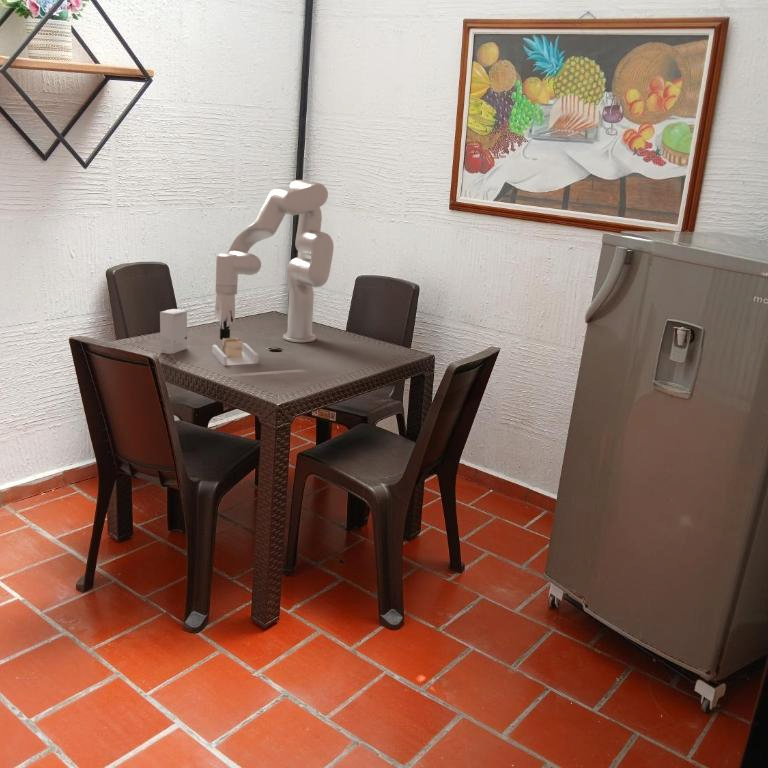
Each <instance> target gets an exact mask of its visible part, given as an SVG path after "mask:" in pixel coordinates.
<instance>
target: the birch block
mask: <svg viewBox="0 0 768 768" xmlns="http://www.w3.org/2000/svg"><path fill="white" fill-rule="evenodd" d="M242 343H243V341H242V340H241V339H240V338H239V337H230V338H223V340H222V349H221V351H222V352H223V353H224V354H225V355H226V356H227V358H233V357H242Z"/></svg>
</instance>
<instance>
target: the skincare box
mask: <svg viewBox="0 0 768 768" xmlns="http://www.w3.org/2000/svg"><path fill="white" fill-rule="evenodd" d="M187 320H188V310H186V309H181V308H180V309H179V308H171V309H166V310H163V311H159V327H160V328H159V333H160V335H159V336H160V339H159V340H160V341H159V342H160V343H159V344H160V353H161V354H162V353H164V354H167V355H170V356H172V354H176V353H179V352H181V351H184V350H187V349H188V321H187Z"/></svg>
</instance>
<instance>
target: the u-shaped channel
mask: <svg viewBox="0 0 768 768" xmlns="http://www.w3.org/2000/svg"><path fill="white" fill-rule="evenodd" d="M212 354H213V355H214V357H215V358H216V359H217V360H218V361H219V362H220V363H221V365H222V366H239V365H240V366H241V365H256V364H259V354H258V353H257V352H256V351H255V350H254V349H252V347H250V345H249V344H248V343H246V342H242V357H233V358H227V356H226V355H225V354H224V353H223V352H222V349H221V348H219V346H218V345H217V344H212Z"/></svg>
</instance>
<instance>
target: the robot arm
mask: <svg viewBox="0 0 768 768" xmlns="http://www.w3.org/2000/svg"><path fill="white" fill-rule="evenodd" d="M328 198H329V191H328V188H327V187H326V186H325V185H324V184H323V183H321V182H320V183H319V182H315V181H309V180H304V179H295V180H293V181H291V182H290V184H289V186H288V189H285V188H280V187H279V188H273V189H272V190H271V191H270V192H269V193H268V195H267V197H266V199H265V200H264V202H263V204H262V206H261V208H260V210H259V211H258V213H257V216H256V217H255V219H254V221H253V222H252V223H251V224H249V225H248V226H247V227H246V228H244V230H242V231H241V232H240V233H239V234H238V235H237V236H236V237H235V238H234V240H233V241H232V243H231V245H230V247H229V249H228V251H227V252H221V253H219V254H217V256H216V264H215V265H216V266H215V270H216V271H215V294H216V295H215V296H216V297H215V305H214V306H215V307H214V317H215V318H216V319H217V321H219V339H220V340H221V341H223V338H231V327H232V323H234V322H235V318H236V317H235V316H236V295H237V294H238V282H239V281H238V280H239V279H238V278H239V275H242V276H243V275H245V276H253V275H257V274H258V273H259V272H260V270H261V268H262V261H261V260H260V258H259V257H258V256H257V255H255V254H253V253H249V251H250V249H251V248H252V247H253V246H254V245H255V244H257V243H258V242H261V241H262V240H263V241H264V240H265V239H269V238H271V237H273V236H275V234H276V233H277V231H278V229H279V227H280V225H281V223H282V221H283V220H284V218H285V216H286V215H288V216H289V215H290V216H298V222H297V223H298V224H297V229H296V230H297V231H296V236H295V242H294V243H295V249H296V250H297V251H298V252H299V253H301V254H303V255H307V256H310V258H307V257H304V256H303V257H302V256H297V257H294V258H292V259H291V260H290V261H289V262H288V264H287V268H286V275H287V281H288V282H287V284H288V305H287V306H288V308H287V309H288V310H287V331H286V332H285V333H283V335H282V338H283V339H284V340H286V341H287V342H292V343H300V344H301V343H310V342H314V341H315V340H316V338H317V337H316V335H315V334H314V333H313V314H314V298H315V294H314V288H320V287H323V286H325V284H327V282H328V279H329V277H330V272H331V269H332V268H331V267H332V262H333V261H332V260H333V255H334V249H335V247H334V241H333V239H332V238H333V237H331V235H330V234H329V233H326V232H323V231H321V228H322V220H323V219H322V218H323V217H322V216H323V214H322V209H321V207H322V206H323V205H325V203H327V200H328ZM313 287H314V288H313Z"/></svg>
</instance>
